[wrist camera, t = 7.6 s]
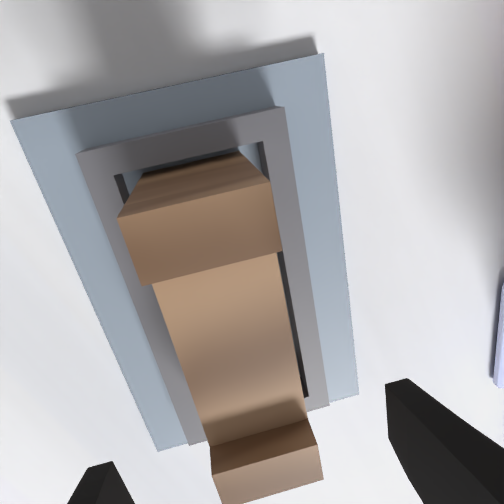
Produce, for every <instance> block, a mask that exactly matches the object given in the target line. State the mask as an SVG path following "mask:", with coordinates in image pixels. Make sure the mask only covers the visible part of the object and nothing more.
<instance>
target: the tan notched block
mask: <svg viewBox="0 0 504 504" xmlns="http://www.w3.org/2000/svg"><path fill="white" fill-rule="evenodd" d="M116 219H117V221H118V224H119V227H120V229H121V232H122V235H123V237H124V240H125V243H126V246H127V248H128V251H129V254H130V256H131V259H132V262H133V264H134V267H135V270H136V273H137V275H138V278H139V281H140V283H141V286H146V285H150V284H152V286H153V289H154V292H155V294H156V297H157V300H158V303H159V306H160V308H161V311H162V314H163V317H164V320H165V322H166V325H167V328H168V331H169V334H170V336H171V339H172V342H173V345H174V348H175V351H176V353H177V356H178V359H179V362H180V365H181V367H182V370H183V373H184V376H185V379H186V381H187V384H188V387H189V390H190V393H191V395H192V398H193V401H194V404H195V407H196V409H197V412H198V415H199V418H200V421H201V423H202V426H203V429H204V432H205V435H206V437H207V440H208V443H209V446H210V457H211V472H212V478H213V480H214V483H215V486H216V488H217V491H218V494H219V496H220V499H221V502H222V504H243V503H247V502H250V501H253V500H257V499H260V498H263V497H267V496H270V495H273V494H277V493H280V492H283V491H287V490H290V489H293V488H297V487H300V486H303V485H307V484H310V483H313V482H317V481H320V480H323V479H324V478H323V473H322V467H321V462H320V456H319V450H318V445H317V442H316V439H315V437H314V434H313V432H312V429H311V426H310V424H309V421H308V418H307V412H306V407H305V402H304V396H303V391H302V386H301V380H300V375H299V370H298V364H297V359H296V354H295V348H294V343H293V338H292V332H291V327H290V322H289V316H288V311H287V306H286V300H285V295H284V290H283V284H282V279H281V274H280V268H279V263H278V258H277V252H281V251H283V250H282V245H281V239H280V234H279V228H278V222H277V217H276V211H275V206H274V200H273V195H272V189H271V183H270V181H269V180H268V179H267V178H266V177H265V176H264V175H263V174H262V173H261V172H260V171H259V170H258V169H257V168H256V167H255V166H254V165H253V164H252V163H251V162H250V161H249V160H248V159H247V158H246V157H245V156H244V155H243V154H242V153H241V152H240V151H236V152H231V153H227V154H223V155H218V156H214V157H210V158H205V159H201V160H197V161H192V162H188V163H184V164H179V165H175V166H171V167H166V168H162V169H158V170H153V171H149V172H144V173H143V174H142V176H141V177H140V179H139V181H138V182H137V184H136V186H135V188H134V189H133V191H132V193H131V194H130V196H129V198H128V200H127V201H126V203H125V205H124V206H123V208H122V210H121V211H120V213H119V215H118V217H117V218H116Z"/></svg>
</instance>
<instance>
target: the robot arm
mask: <svg viewBox="0 0 504 504" xmlns="http://www.w3.org/2000/svg"><path fill="white" fill-rule="evenodd" d="M493 383H494V384H495V385H496V386H497V387H498V388H504V283H503V286H502V293H501V303H500V314H499V324H498V335H497V345H496V356H495V366H494V377H493ZM385 393H386V408H387V423H388V438H389V440H390V442H391V444H392V447H393V449H394V451H395V453H396V455H397V457H398V459H399V461H400V463H401V465H402V467H403V469H404V471H405V473H406V475H407V477H408V479H409V480H410V482H411V484H412V485H413V487H414V489H415V490H416V492H417V493H418V495H419V497H420V498H421V500H422V502H423V503H424V504H504V448H502V447H501V446H500V445H498V444H497V443H495V442H494V441H492V440H491V439H489V438H488V437H487V436H485V435H484V434H482V433H481V432H479V431H478V430H477V429H475V428H474V427H472V426H471V425H469V424H468V423H467V422H465V421H464V420H463V419H461V418H460V417H458V416H457V415H456V414H454V413H453V412H452V411H450V410H449V409H448V408H446V407H445V406H444V405H442V404H441V403H440V402H438V401H437V400H436V399H434V398H433V397H432V396H430V395H429V394H428V393H426V392H425V391H424V390H423V389H421V388H420V387H419V386H417V385H416V384H415V383H413V382H412V381H411V380H409V379H407V378H406V379H402V380H399V381H395V382H391V383H388V384H385ZM67 504H135V503H134V501H133V499H132V497H131V495H130V494H129V492H128V490H127V488H126V486H125V484H124V482H123V480H122V478H121V476H120V475H119V473H118V471H117V469H116V467H115V465H114V463H113V461H110V462H107V463H103V464H100V465H96V466H93V467H89V468H88V469H87V470H86V472H85V473H84V475H83V477H82V479H81V480H80V482H79V484H78V486H77V487H76V489H75V491H74V493H73V494H72V496H71V498H70V500H69V501H68V503H67Z"/></svg>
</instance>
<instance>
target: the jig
mask: <svg viewBox="0 0 504 504" xmlns="http://www.w3.org/2000/svg"><path fill="white" fill-rule="evenodd" d="M10 122H11V124H12V127H13V129H14V131H15V133H16V136H17V138H18V140H19V142H20V144H21V147H22V149H23V151H24V153H25V156H26V158H27V160H28V162H29V165H30V167H31V169H32V171H33V174H34V176H35V178H36V180H37V183H38V185H39V187H40V189H41V191H42V194H43V196H44V198H45V200H46V203H47V205H48V207H49V209H50V212H51V214H52V216H53V218H54V221H55V223H56V225H57V227H58V230H59V232H60V234H61V236H62V239H63V241H64V243H65V245H66V247H67V250H68V252H69V254H70V256H71V259H72V261H73V263H74V265H75V268H76V270H77V272H78V274H79V277H80V279H81V281H82V283H83V286H84V288H85V290H86V292H87V294H88V297H89V299H90V301H91V303H92V306H93V308H94V310H95V312H96V315H97V317H98V319H99V321H100V324H101V326H102V328H103V330H104V333H105V335H106V337H107V339H108V342H109V344H110V346H111V348H112V350H113V353H114V355H115V357H116V359H117V362H118V364H119V366H120V368H121V371H122V373H123V375H124V377H125V380H126V382H127V384H128V386H129V389H130V391H131V393H132V395H133V397H134V400H135V402H136V404H137V406H138V409H139V411H140V413H141V415H142V418H143V420H144V422H145V424H146V427H147V429H148V431H149V433H150V436H151V438H152V440H153V442H154V445H155V447H156V449H157V451H158V452H159V451H162V450H166V449H169V448H173V447H176V446H180V445H183V444H187V443H188V444H189V446H190V445H193V444H197V443H200V442H204V441H207V437H206V435H205V432H204V429H203V426H202V423H201V421H200V418H199V415H198V412H197V409H196V407H195V404H194V401H193V398H192V395H191V393H190V390H189V387H188V384H187V381H186V379H185V376H184V373H183V370H182V367H181V365H180V362H179V359H178V356H177V353H176V351H175V348H174V345H173V342H172V339H171V336H170V334H169V331H168V328H167V325H166V322H165V320H164V317H163V314H162V311H161V308H160V306H159V303H158V300H157V297H156V294H155V292H154V289H153V286H152V284H150V285H146V286H141V283H140V281H139V278H138V275H137V273H136V270H135V267H134V264H133V262H132V259H131V256H130V254H129V251H128V248H127V246H126V243H125V240H124V237H123V235H122V232H121V229H120V227H119V224H118V221H117V219H116V218H117V217H118V215H119V213H120V211H121V210H122V208H123V206H124V205H125V203H126V201H127V200H128V198H129V196H130V194H131V193H132V191H133V189H134V188H135V186H136V184H137V182H138V181H139V179H140V177H141V176H142V174H143V173H144V172H149V171H153V170H158V169H162V168H166V167H171V166H175V165H179V164H184V163H188V162H192V161H197V160H201V159H205V158H210V157H214V156H218V155H223V154H227V153H231V152H236V151H240V152H241V153H242V154H243V155H244V156H245V157H246V158H247V159H248V160H249V161H250V162H251V163H252V164H253V165H254V166H255V167H256V168H257V169H258V170H259V171H260V172H261V173H262V174H263V175H264V176H265V177H266V178H267V179H268V180H269V181H270V183H271V189H272V195H273V200H274V206H275V211H276V217H277V222H278V228H279V234H280V239H281V245H282V250H283V251H281V252H277V258H278V263H279V268H280V274H281V279H282V284H283V290H284V295H285V300H286V306H287V311H288V316H289V322H290V327H291V332H292V338H293V343H294V348H295V354H296V359H297V364H298V370H299V375H300V380H301V386H302V391H303V396H304V402H305V407H306V412H309V411H312V410H316V409H319V408H323V407H326V406H330V404H329V403H330V402H334V401H337V400H341V399H344V398H348V397H351V396H355V395H358V394H359V387H358V378H357V368H356V358H355V349H354V339H353V330H352V320H351V311H350V301H349V291H348V282H347V272H346V263H345V253H344V243H343V234H342V224H341V215H340V205H339V196H338V186H337V176H336V167H335V157H334V148H333V138H332V128H331V119H330V109H329V100H328V90H327V81H326V71H325V61H324V53H321V54H317V55H312V56H307V57H303V58H298V59H293V60H289V61H284V62H280V63H275V64H270V65H266V66H261V67H256V68H252V69H247V70H242V71H238V72H233V73H229V74H224V75H219V76H215V77H210V78H205V79H201V80H196V81H192V82H187V83H182V84H178V85H173V86H168V87H164V88H159V89H155V90H150V91H145V92H141V93H136V94H131V95H127V96H122V97H117V98H113V99H108V100H104V101H99V102H94V103H90V104H85V105H80V106H76V107H71V108H67V109H62V110H57V111H53V112H48V113H43V114H39V115H34V116H29V117H25V118H20V119H16V120H11V121H10Z"/></svg>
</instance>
